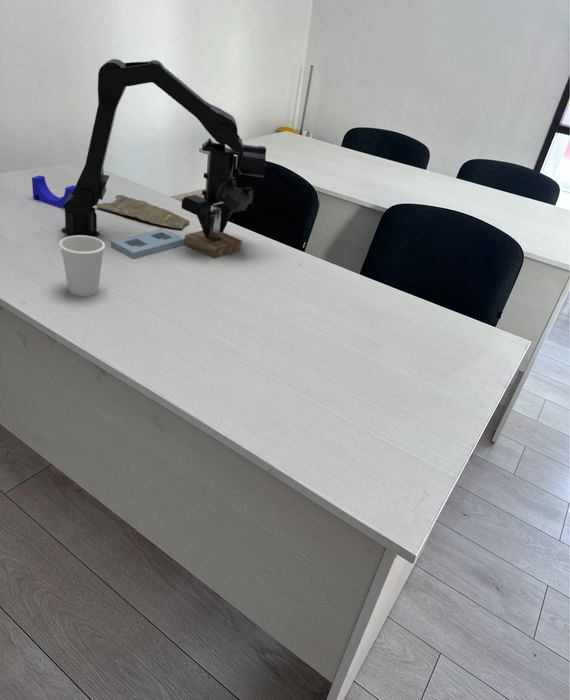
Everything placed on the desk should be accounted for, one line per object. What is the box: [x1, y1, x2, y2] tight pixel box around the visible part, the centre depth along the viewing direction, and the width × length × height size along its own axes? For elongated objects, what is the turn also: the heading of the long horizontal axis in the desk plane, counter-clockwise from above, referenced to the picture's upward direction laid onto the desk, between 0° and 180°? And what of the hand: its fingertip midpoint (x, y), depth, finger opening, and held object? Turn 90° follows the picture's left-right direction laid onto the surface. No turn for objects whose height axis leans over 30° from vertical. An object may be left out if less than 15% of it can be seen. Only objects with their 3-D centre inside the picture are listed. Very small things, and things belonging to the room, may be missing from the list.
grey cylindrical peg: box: [208, 206, 222, 242], centre depth 143 cm, size 3×3×10 cm
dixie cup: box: [58, 235, 106, 297], centre depth 115 cm, size 8×8×10 cm
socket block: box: [184, 230, 243, 259], centre depth 145 cm, size 10×10×2 cm
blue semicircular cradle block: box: [31, 175, 76, 210], centre depth 153 cm, size 12×4×6 cm, turn 69°
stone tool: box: [95, 194, 191, 230], centre depth 157 cm, size 11×3×25 cm
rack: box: [110, 227, 185, 259], centre depth 140 cm, size 16×8×2 cm, turn 143°
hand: (213, 233), depth 144 cm, fingers open, 5 cm apart
